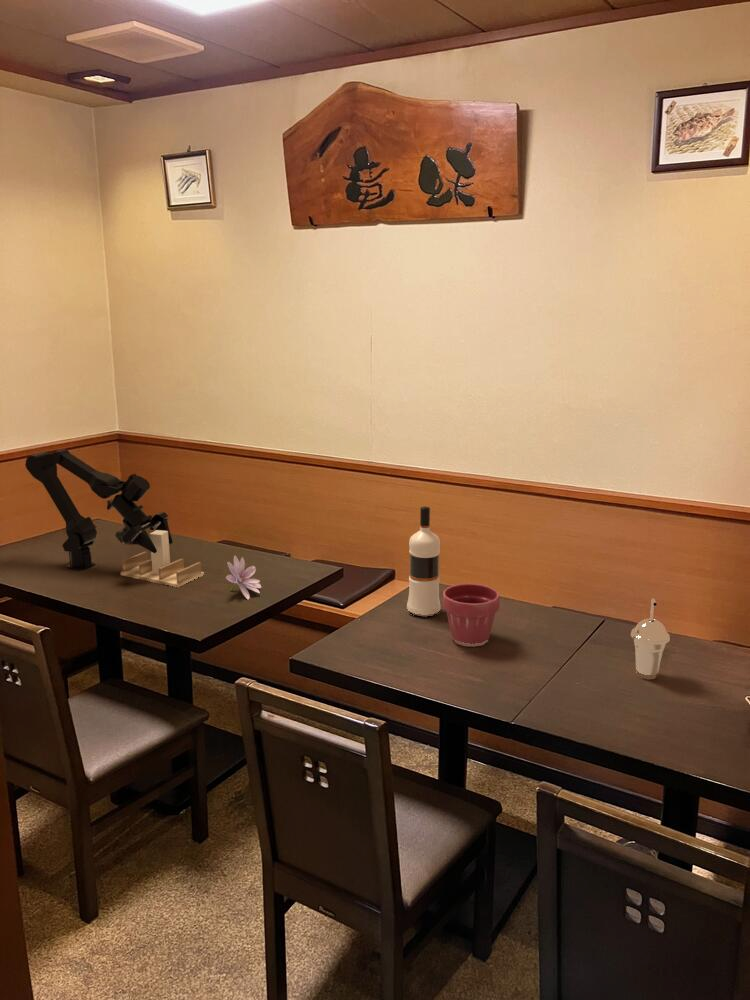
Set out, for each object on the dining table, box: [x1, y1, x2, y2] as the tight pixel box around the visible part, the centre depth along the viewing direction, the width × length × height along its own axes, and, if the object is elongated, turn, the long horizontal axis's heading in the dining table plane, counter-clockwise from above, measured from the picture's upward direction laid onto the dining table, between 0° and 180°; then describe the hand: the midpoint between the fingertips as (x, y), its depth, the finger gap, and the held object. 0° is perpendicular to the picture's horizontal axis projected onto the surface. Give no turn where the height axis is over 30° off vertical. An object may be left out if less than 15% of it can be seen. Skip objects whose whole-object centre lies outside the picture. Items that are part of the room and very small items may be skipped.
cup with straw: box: [630, 597, 671, 675], centre depth 182 cm, size 8×9×20 cm
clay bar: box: [149, 530, 171, 575], centre depth 247 cm, size 4×4×13 cm
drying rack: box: [120, 551, 205, 589], centre depth 249 cm, size 23×12×4 cm, turn 62°
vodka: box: [406, 506, 442, 615], centre depth 217 cm, size 9×9×30 cm
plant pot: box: [442, 583, 500, 644], centre depth 202 cm, size 14×14×13 cm
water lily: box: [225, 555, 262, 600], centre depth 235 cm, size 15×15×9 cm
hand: (164, 547), depth 247 cm, fingers open, 9 cm apart
